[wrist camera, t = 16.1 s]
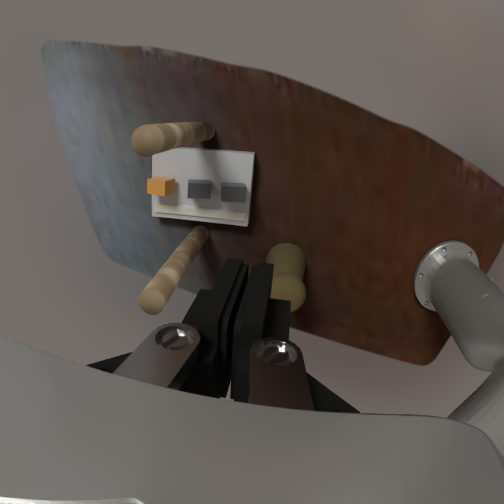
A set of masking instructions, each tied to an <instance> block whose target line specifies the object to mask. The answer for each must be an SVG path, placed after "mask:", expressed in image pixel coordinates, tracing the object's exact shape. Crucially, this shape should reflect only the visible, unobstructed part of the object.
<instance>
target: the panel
mask: <svg viewBox="0 0 504 504" xmlns="http://www.w3.org/2000/svg"><path fill="white" fill-rule="evenodd" d="M254 162H255V153H254V152H244V151H232V150H219V149H205V148H187V147H179V148H175V149H172V150H168V151H165V152H161V153H158V154H154V155H153V158H152V178H153V177H156V176H161V177H168V178H175V193H173V194H170V195H167V196H160V195H154V194H152V216H155V217H165V218H175V219H184V220H194V221H203V222H212V223H221V224H230V225H239V226H248V224H249V217H250V206H251V195H252V184H253V173H254ZM188 179H193V180H211V199H197V198H187V194H188ZM221 182H230V183H244V184H245V185H246V187H247V190H246V201H245V202H222V201H221Z"/></svg>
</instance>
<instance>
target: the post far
mask: <svg viewBox="0 0 504 504" xmlns="http://www.w3.org/2000/svg"><path fill="white" fill-rule="evenodd" d="M208 237H209V230H208V228H207V227H206V226H204V225H196V226H195V227H194V228H193V229H192V231H191V232H190V233H189V234H188V235H187V237H186V238H185V239H184V240H183V241H182V243H181V244H180V245H179V246H178V247H177V249H176V250H175V251H174V252H173V254H172V255H171V256H170V257H169V259H168V260H167V261H166V262H165V264H164V265H163V266H162V267H161V269H160V270H159V271H158V272H157V274H156V275H155V276H154V277H153V279H152V280H151V281H150V282H149V284H148V285H147V286H146V288H145V289H144V290H143V291H142V293H141V294H140V296H139V297H138V303H139V306H140V307H141V309H142V310H143V311H144V312H146V313H148V314H151V315H157V314H159V313H160V312H161V311H162V310H163V308H164V306H165V305H166V303H167V301H168V300H169V298H170V297H171V295H172V293H173V292H174V290H175V289H176V287H177V285H178V284H179V282H180V281H181V279H182V278H183V276H184V274H185V273H186V271H187V270H188V268H189V267H190V265H191V263H192V262H193V260H194V259H195V257H196V256H197V254H198V253H199V251H200V249H201V248H202V246H203V245H204V243H205V242H206V240H207V239H208Z"/></svg>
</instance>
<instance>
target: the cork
mask: <svg viewBox="0 0 504 504" xmlns="http://www.w3.org/2000/svg"><path fill="white" fill-rule="evenodd" d="M266 263H272V264H274V270H273V279H272V289H271V298H273V299H281V300H290V301H291V311H290V313H291V312H294V311H296V310H298V309H299V308H300V307H301V306H302V304H303V303H304V301H305V298H306V289H305V285H304V283H303V282H302V281H303V276H304V271H305V266H306V258H305V254H304V253H303V251H302V250H301V249H300V248H299V247H298V246H296V245H293V244H290V243H282V244H278V245H276V246H274V247H273V248H272V249H271V250H270V251H269V252H268V254H267V257H266Z"/></svg>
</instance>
